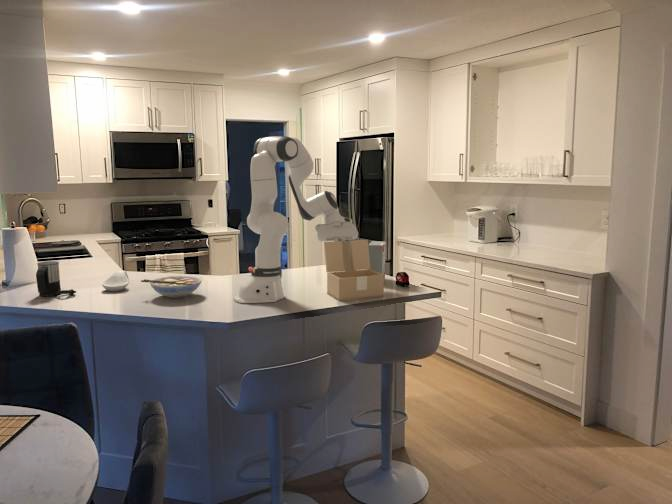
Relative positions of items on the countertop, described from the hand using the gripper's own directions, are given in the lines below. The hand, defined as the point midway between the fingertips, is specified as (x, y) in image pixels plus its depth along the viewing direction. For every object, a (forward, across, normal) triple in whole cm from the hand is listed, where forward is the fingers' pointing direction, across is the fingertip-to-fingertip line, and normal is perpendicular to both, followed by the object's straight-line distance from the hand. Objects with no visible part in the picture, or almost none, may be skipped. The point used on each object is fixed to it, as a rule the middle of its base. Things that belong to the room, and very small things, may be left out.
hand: (341, 246), depth 263 cm
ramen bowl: (+6, -76, +23) cm, 80 cm away
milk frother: (-9, -126, +38) cm, 132 cm away
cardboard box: (+26, 0, +3) cm, 26 cm away
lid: (+7, 0, -3) cm, 8 cm away
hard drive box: (+10, +22, +19) cm, 31 cm away
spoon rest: (-14, -100, +44) cm, 110 cm away
